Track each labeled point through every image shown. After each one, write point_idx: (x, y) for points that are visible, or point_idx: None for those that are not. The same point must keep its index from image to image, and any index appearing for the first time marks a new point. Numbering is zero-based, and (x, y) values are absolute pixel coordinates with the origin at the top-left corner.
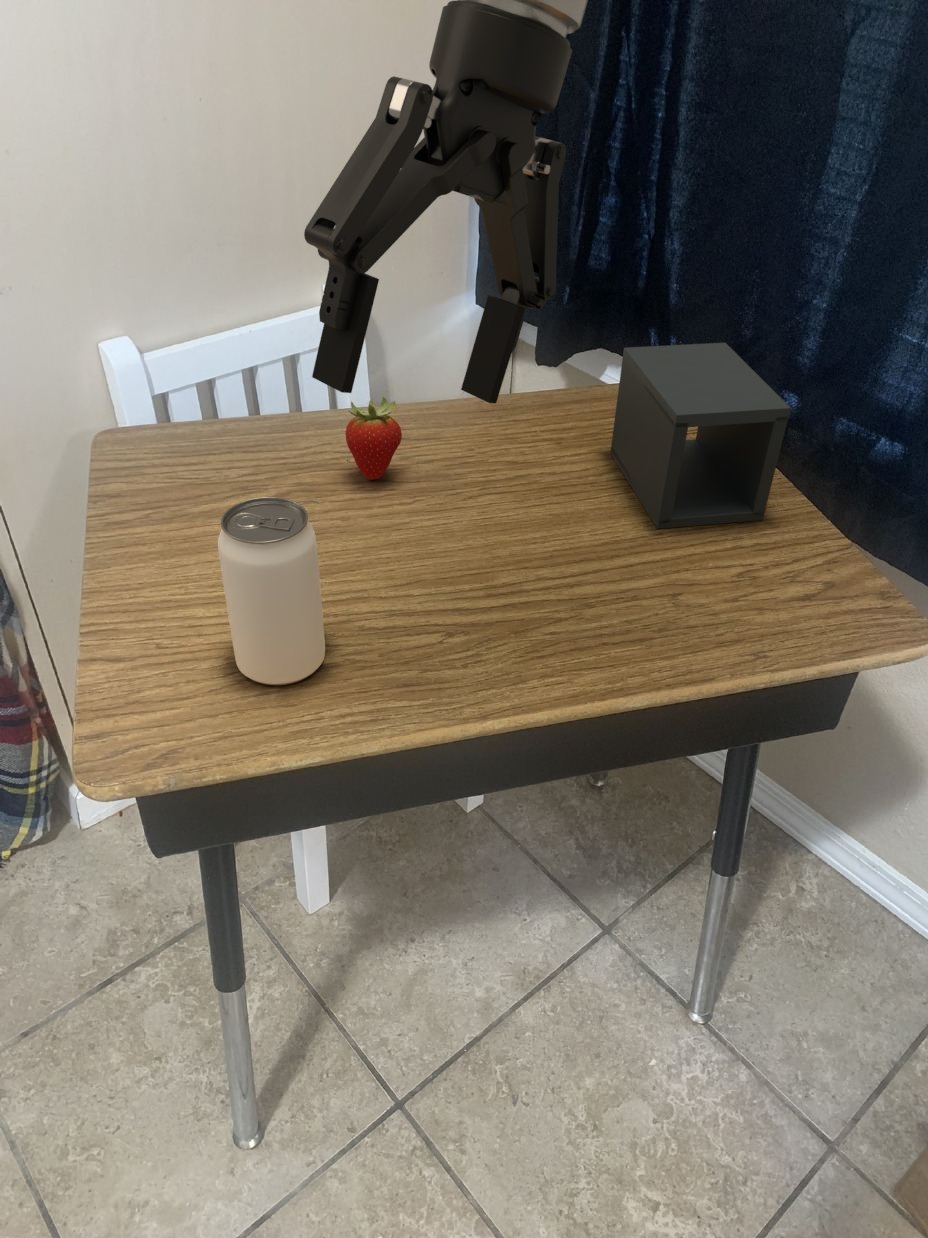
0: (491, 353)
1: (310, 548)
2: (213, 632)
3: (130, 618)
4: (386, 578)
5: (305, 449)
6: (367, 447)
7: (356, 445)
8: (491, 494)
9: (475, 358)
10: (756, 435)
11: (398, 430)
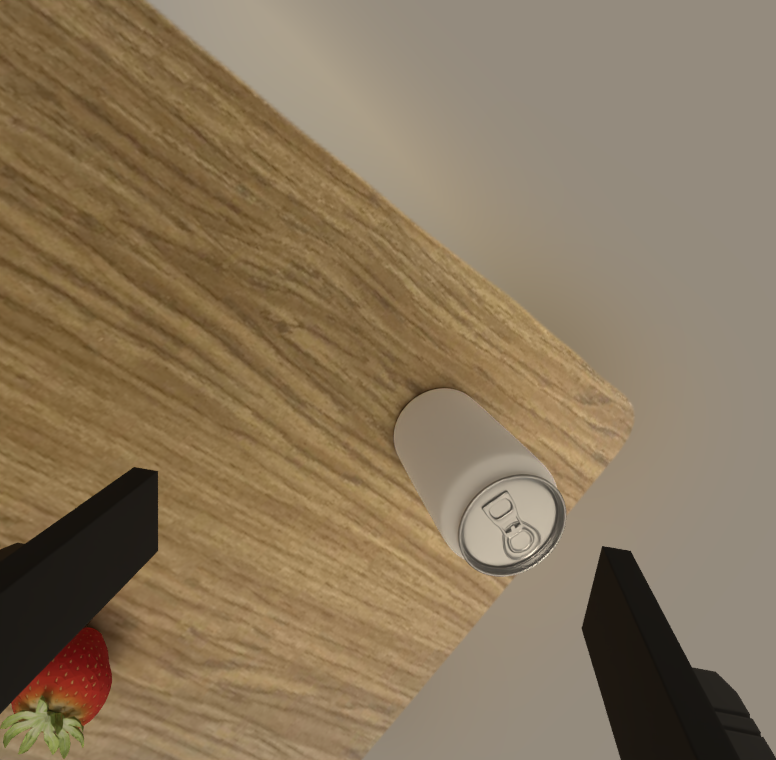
0: (91, 560)
1: (485, 458)
2: None
3: (480, 573)
4: (250, 458)
5: (109, 733)
6: (101, 665)
7: (109, 678)
8: None
9: (111, 583)
10: None
11: None
